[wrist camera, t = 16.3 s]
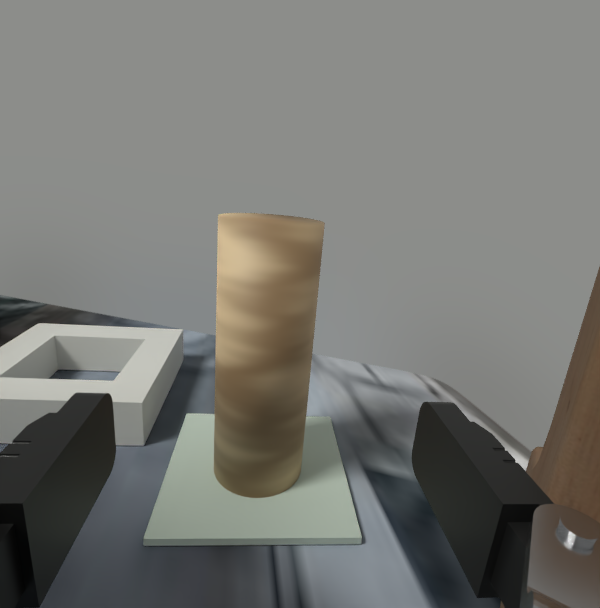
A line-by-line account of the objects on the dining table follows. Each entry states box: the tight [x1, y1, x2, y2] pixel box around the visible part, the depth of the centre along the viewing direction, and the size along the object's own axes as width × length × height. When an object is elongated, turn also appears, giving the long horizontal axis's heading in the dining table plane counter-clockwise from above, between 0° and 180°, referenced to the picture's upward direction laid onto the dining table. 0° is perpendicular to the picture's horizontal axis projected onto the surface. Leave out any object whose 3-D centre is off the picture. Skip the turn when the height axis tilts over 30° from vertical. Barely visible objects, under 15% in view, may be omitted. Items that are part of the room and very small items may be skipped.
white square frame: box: [0, 323, 183, 446], centre depth 29 cm, size 12×12×3 cm
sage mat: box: [143, 413, 362, 546], centre depth 23 cm, size 10×10×1 cm
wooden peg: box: [214, 213, 324, 498], centre depth 21 cm, size 5×5×14 cm
